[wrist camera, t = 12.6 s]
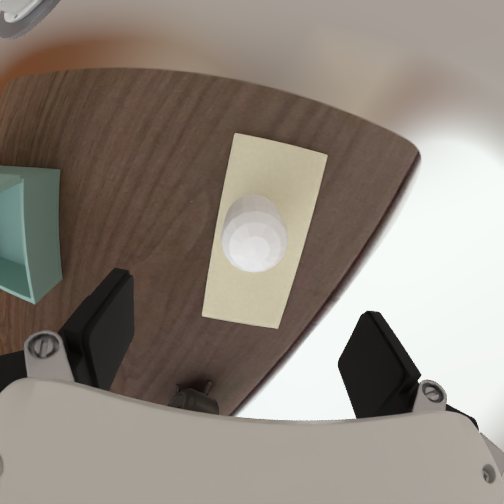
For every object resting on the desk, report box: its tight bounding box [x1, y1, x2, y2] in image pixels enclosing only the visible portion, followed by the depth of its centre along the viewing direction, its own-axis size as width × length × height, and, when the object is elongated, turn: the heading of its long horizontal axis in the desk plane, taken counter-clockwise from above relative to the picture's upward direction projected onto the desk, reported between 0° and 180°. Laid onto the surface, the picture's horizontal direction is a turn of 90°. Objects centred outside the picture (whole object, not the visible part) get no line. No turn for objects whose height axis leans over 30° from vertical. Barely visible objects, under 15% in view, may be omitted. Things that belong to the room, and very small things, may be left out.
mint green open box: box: [0, 166, 63, 304], centre depth 23 cm, size 14×14×7 cm
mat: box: [202, 133, 328, 329], centre depth 28 cm, size 20×9×1 cm, turn 168°
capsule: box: [220, 194, 288, 273], centre depth 23 cm, size 5×5×8 cm
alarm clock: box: [168, 380, 219, 415], centre depth 29 cm, size 11×5×16 cm, turn 142°
